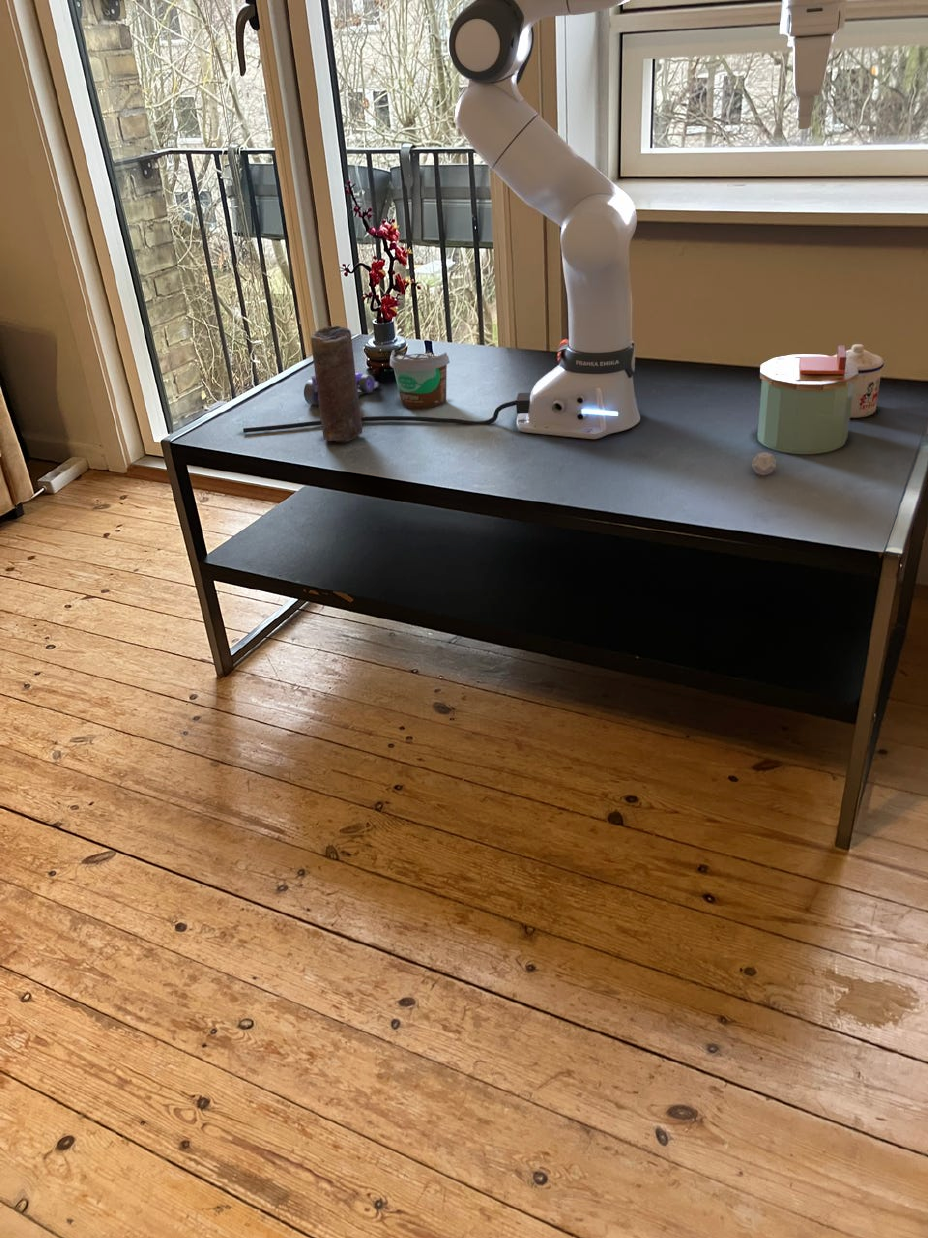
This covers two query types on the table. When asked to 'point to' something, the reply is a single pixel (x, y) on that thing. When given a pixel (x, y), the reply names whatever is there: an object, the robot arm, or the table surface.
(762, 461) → the game die
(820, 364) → the slider
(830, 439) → the green round box
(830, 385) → the round tan lid
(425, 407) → the food container
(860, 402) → the teacup with lid
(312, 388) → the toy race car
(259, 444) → the table surface
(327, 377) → the candle
